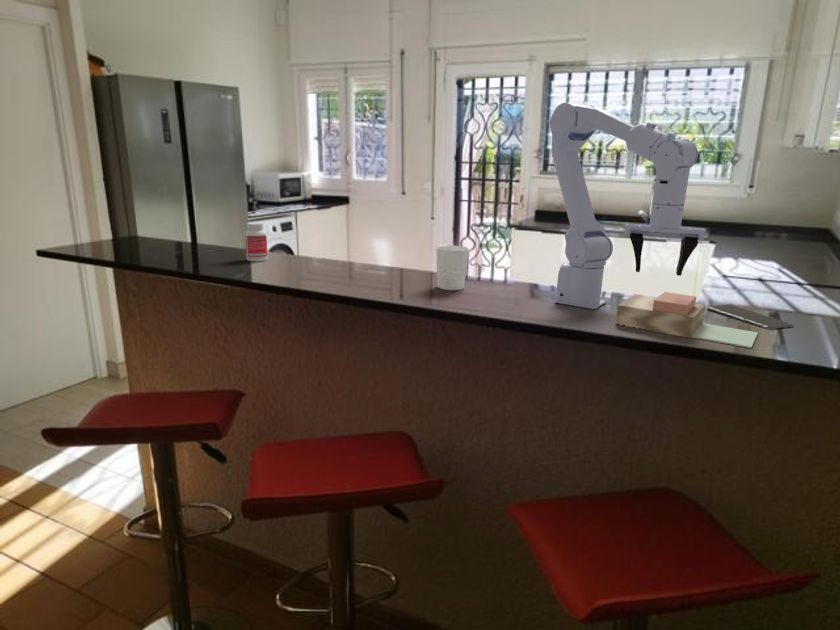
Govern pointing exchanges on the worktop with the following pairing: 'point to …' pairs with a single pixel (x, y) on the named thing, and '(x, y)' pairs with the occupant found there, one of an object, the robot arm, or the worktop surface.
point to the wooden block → (658, 317)
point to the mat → (725, 335)
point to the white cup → (451, 267)
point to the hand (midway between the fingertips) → (657, 272)
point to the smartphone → (749, 316)
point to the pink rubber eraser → (674, 303)
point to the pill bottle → (256, 242)
